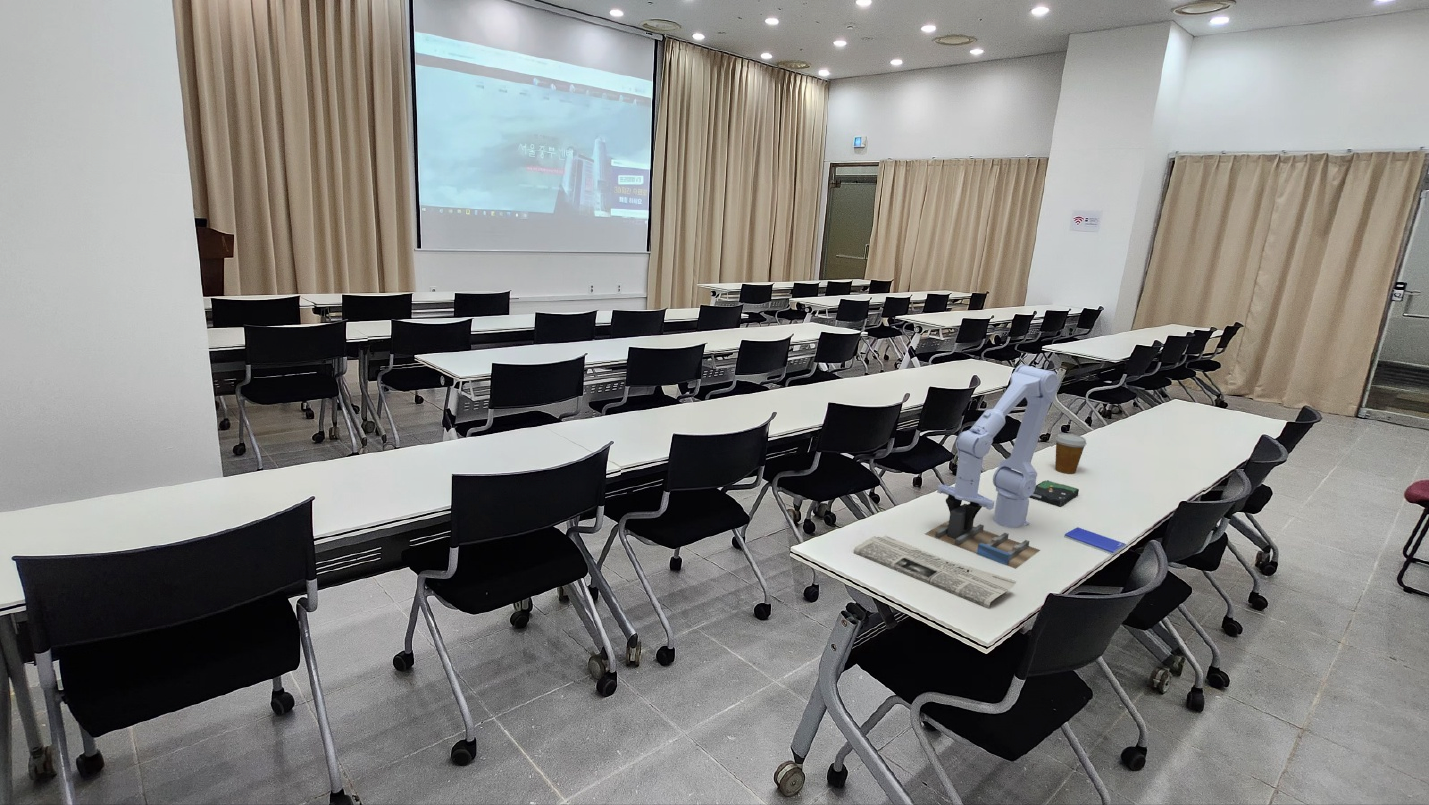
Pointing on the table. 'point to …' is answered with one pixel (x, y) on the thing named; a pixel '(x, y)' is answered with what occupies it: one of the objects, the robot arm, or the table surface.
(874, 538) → the newspaper
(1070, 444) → the disposable coffee cup
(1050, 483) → the disk drive
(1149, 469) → the table surface
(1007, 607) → the table surface
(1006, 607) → the table surface
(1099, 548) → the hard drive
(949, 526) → the dark grey tall block
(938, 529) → the board
